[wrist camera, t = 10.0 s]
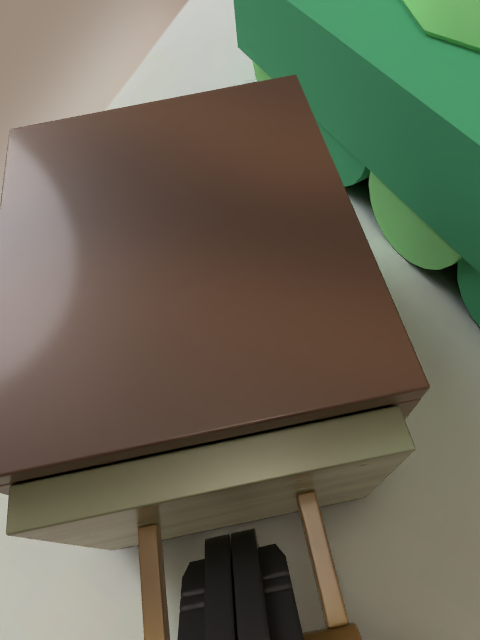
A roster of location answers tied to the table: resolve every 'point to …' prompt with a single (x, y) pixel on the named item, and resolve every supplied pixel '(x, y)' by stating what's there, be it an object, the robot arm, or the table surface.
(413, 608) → the table surface
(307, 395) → the cabinet
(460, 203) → the toy tank
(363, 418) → the drawer
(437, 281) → the table surface
